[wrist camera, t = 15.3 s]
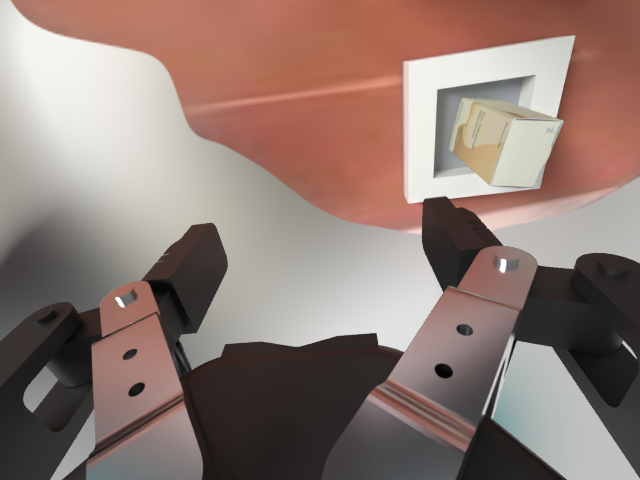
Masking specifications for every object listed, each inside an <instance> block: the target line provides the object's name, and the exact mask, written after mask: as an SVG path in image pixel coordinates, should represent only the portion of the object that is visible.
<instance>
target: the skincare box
mask: <svg viewBox="0 0 640 480" xmlns="http://www.w3.org/2000/svg"><path fill="white" fill-rule="evenodd" d="M562 124H563V120H561V119H558V118H554V117H551V116H548V115H545V114H542V113H539V112H536V111H533V110H530V109H528V108H524V107H521V106H518V105H515V104H512V103H509V102H506V101H503V100H500V99H497V98H485V97H462V98H461V101H460V104H459V108H458V111H457V115H456V119H455V122H454V126H453V130H452V135H451V139H450V144H449V150H450V151H451V152H452V153H453V154H455V155H456V156H457V157H458V158H459V159H460V160H461V161H462V162H464V163H465V164H466V165H467V166H468V167H469V168H470V169H472V170H473V171H474V172H475V173H476V174H477V175H478V176H479V177H481V178H482V179H483V180H484V181H485V182H486V183H487V184H488V185H490V186H492V187H504V188H517V189H534V188H535V187H536V184H537V182H538V180H539V177H540V175H541V173H542V171H543V168H544V166H545V164H546V162H547V160H548V158H549V156H550V153H551V150H552V147H553V145H554V143H555V140H556V138H557V136H558V133H559V131H560V129H561V126H562Z"/></svg>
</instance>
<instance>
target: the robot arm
mask: <svg viewBox="0 0 640 480" xmlns="http://www.w3.org/2000/svg"><path fill="white" fill-rule="evenodd" d="M422 244H423V249H424V252H425V254H426V256H427V258H428V261H429V263H430V265H431V267H432V269H433V271H434V273H435V276H436V278H437V280H438V282H439V284H440V286H441V288H442V290H443V294H442V296H441V297H440V299H439V300H438V302H437V304H436V305H435V306H434V308H433V310H432V311H431V313H430V314H429V316H428V317H427V319H426V320H425V322H424V323H423V325H422V326H421V328H420V329H419V331H418V333H417V334H416V336H415V337H414V339H413V340H412V342H411V343H410V345H409V346H408V348H407V349H406V351H405V352H402V351H400V350H397V349H393V348H390V347H386V346H380V345H378V340H377V334H376V333H371V334H357V335H344V336H336V337H332V338H329V339H325V340H322V341H319V342H315V343H312V344H308V345H304V346H301V347H293V346H286V345H279V344H273V343H266V342H249V343H236V344H226V345H225V347H224V350H223V352H222V355H221V357H219V358H216V359H213V360H211V361H208V362H206V363H204V364H202V365H200V366H198V367H197V368H195V369H193V370H192V368H191V366H190V363H189V361H188V358H187V356H186V354H185V351H184V349H183V346H182V344H181V342H180V341H179V338H180V336H181V334H191V333H197V331H198V329H199V327H200V325H201V323H202V321H203V319H204V316H205V315H206V313H207V310H208V308H209V306H210V304H211V302H212V300H213V298H214V296H215V294H216V292H217V290H218V288H219V286H220V284H221V282H222V279H223V277H224V275H225V273H226V271H227V267H228V264H227V263H228V262H227V256H226V253H225V251H224V248H223V245H222V242H221V239H220V236H219V234H218V231H217V228H216V226H215V225H214V224H213V223H206V224H198V225H192V226H191V227H190V228H189V230H188V231H187V232H186V233H185V234H184V236H183V237H182V238H181V239H180V240H178V241H177V242H175V243H174V244H172V245H171V246H170V247H169V248H168V249H167V250H166V252H165V253H164V256H162V257H161V258H160V259H159V260H158V262H157V263H156V264H155V265H154V266H153V267H152V268H151V270H150V271H149V272H148V273H147V274H146V275H145V277H144V278H143V279H142V280H141V281H135V282H131V283H128V284H125V285H122V286H120V287H118V288H116V289H115V290H113V291H112V292H110V293H109V294H108V295H107V296H105V297H104V299H103V300H102V301H101V303H100V307H99V308H96V309H92V310H89V311H86V312H82V313H78V312H77V311H76V309H75V308H74V306H73V305H72V304H71V303H69V302H59V303H55V304H52V305H49V306H46V307H44V308H42V309H40V310H38V311H36V312H35V313H33V314H31V315H30V316H28V317H27V318H26V319H24V320H23V321H22V322H21V323H20V324H19V325H18V326H17V327H16V328H14V329H13V330H12V331H11V332H10V333H9V334H8V335H7V336H6V337H5V338H3V339H2V340H1V341H0V480H50V479H51V477H52V476H53V474H54V472H55V471H56V469H57V467H58V466H59V464H60V463H61V461H62V459H63V458H64V456H65V455H66V453H67V451H68V450H69V448H70V446H71V445H72V443H73V442H74V440H75V438H76V437H77V435H78V433H79V432H80V430H81V429H82V427H83V425H84V424H85V422H86V420H87V419H88V417H89V415H90V414H91V412H92V411H93V409H94V423H95V448H94V451H93V452H91V453H90V455H89V457H88V458H87V459H86V460H85V461H83V462H82V464H80V465H79V466H78V467H76V468H75V469H74V470H73V471H72V472H71V473H69V474H68V475H67V476H66V477H65V478H64V479H63V480H567V479H566V478H564V477H563V476H562V475H561V474H559V473H558V472H557V471H556V470H554V469H553V468H552V467H551V466H550V465H548V464H547V463H546V462H544V461H543V460H542V459H541V458H540V457H538V456H537V455H536V454H535V453H534V452H532V451H531V450H530V449H528V448H527V447H526V446H525V445H524V444H522V443H521V442H520V441H519V440H517V439H516V438H515V437H514V436H513V435H511V434H510V433H509V432H507V431H506V430H505V429H504V428H503V427H501V426H500V425H499V424H498V423H496V422H495V421H494V420H493V416H494V413H495V410H496V406H497V403H498V400H499V396H500V393H501V390H502V387H503V384H504V381H505V378H506V375H507V372H508V369H509V366H510V363H511V360H512V357H513V354H514V351H515V348H516V345H517V342H518V341H522V342H528V343H533V344H539V345H545V346H551V347H553V349H554V351H555V352H556V354H557V355H558V357H559V358H560V360H561V361H562V363H563V364H564V366H565V367H566V368H567V370H568V372H569V373H570V374H571V376H572V378H573V379H574V381H575V382H576V383H577V385H578V387H579V388H580V390H581V391H582V393H583V394H584V395H585V397H586V399H587V400H588V402H589V403H590V405H591V406H592V408H593V409H594V410H595V412H596V413H597V415H598V416H599V418H600V419H601V421H602V422H603V424H604V425H605V427H606V428H607V430H608V431H609V433H610V434H611V436H612V437H613V439H614V440H615V442H616V443H617V445H618V446H619V448H620V449H621V450H622V452H623V454H624V455H625V457H626V458H627V460H628V461H629V463H630V464H631V466H632V467H633V469H634V470H635V471H636V473H637V475H638V476H639V478H640V263H637V262H636V261H633V260H631V259H628V258H625V257H622V256H618V255H613V254H606V253H591V254H585V255H582V256H580V257H579V258H578V259H577V260H576V264H575V266H574V269H565V268H553V267H545V266H539V265H538V264H537V261H536V259H535V258H534V257H533V256H532V255H531V254H529V253H527V252H525V251H523V250H521V249H518V248H514V247H509V246H503V245H502V244H501V242H500V241H499V240H498V239H497V238H496V237H495V236H494V235H493V233H492V232H491V231H490V230H489V229H487V227H486V226H485V224H484V223H483V222H481V220H480V219H479V218H478V217H477V216H476V214H475V213H473V212H471V211H469V210H467V209H465V208H463V207H462V208H456V207H455V206H454V205H453V204H452V202H451V201H450V200H449V199H448V197H447V196H442V197H433V198H425V199H424V201H423V215H422ZM623 340H624V341H625V342H626V343H627V344H628V346H629V347H630V348H631V349H632V350H633V352H634V353H635V355H636V357H637V359H636V358H635V357H634V356H633V355H632V354H631V353H630V352H629V351H628V349H627V348H626V347H625V346H624V345H623V344H622V341H623ZM44 366H46V367H47V368H48V369H49V370H50V371H51V372H52V373H53V374H54V375H55V376H56V378H57V379H58V382H57V383H56V384H55V385H54V386H53V388H52V389H51V390H50V392H49V393H48V394H47V396H46V397H45V398H44V399H43V401H42V402H41V403H40V405H39V406H38V407H37V408H36V410H35V411H34V412H33V413H31V411H29V410H28V409H27V408H26V407H25V405H24V402H23V395H24V392H25V390H26V388H27V386H28V385H29V384H30V383H31V381H32V380H33V379H34V378H35V377H36V376H37V375H38V373H39V372H40V371H41V370H42V369H43V367H44Z"/></svg>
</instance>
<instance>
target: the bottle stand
mask: <svg viewBox="0 0 640 480" xmlns="http://www.w3.org/2000/svg"><path fill="white" fill-rule="evenodd" d="M574 39H575V35H572V36H559V37H550V38H544V39H538V40H531V41H525V42H519V43H513V44H507V45H500V46H494V47H488V48H482V49H476V50H469V51H463V52H457V53H451V54H444V55H438V56H432V57H426V58H420V59H413V60H407V61H402V115H403V194H404V196H405V198H406V200H407V202H408V204H409V203H417V202H423V201H424V199H425V198H433V197H442V196H447V197H448V199H452V198H461V197H469V196H478V195H487V194H496V193H504V192H513V191H522V190H530V189H517V188H504V187H492V186H490V185H488V184H487V183H486V182H485V181H484V180H483V179H482V178H481V177H479V176H478V175H477V174H476V173H475V172H474V171H473V170H472V169H470V168H469V167H468V166H467V165H466V164H465V163H464V162H462V161H461V160H460V159H459V158H458V157H457V156H456V155H455V154H453V153H452V152H451V151H450V150H449V144H450V139H451V135H452V130H453V126H454V122H455V119H456V115H457V111H458V108H459V104H460V101H461V98H462V97H485V98H497V99H500V100H503V101H506V102H509V103H512V104H515V105H518V106H521V107H524V108H528V109H530V110H533V111H536V112H539V113H542V114H545V115H548V116H551V117H554V118H556V117H557V113H558V108H559V104H560V100H561V95H562V91H563V87H564V83H565V78H566V74H567V70H568V65H569V61H570V57H571V52H572V48H573V44H574ZM544 169H545V166H544V168H543V171H542V173H541V175H540V177H539V180H538V182H537V184H536V187H535V188H534V189H539V188H540V186H541V182H542V177H543V173H544Z"/></svg>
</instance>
